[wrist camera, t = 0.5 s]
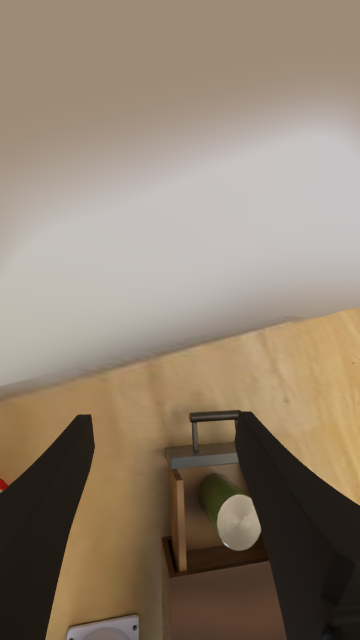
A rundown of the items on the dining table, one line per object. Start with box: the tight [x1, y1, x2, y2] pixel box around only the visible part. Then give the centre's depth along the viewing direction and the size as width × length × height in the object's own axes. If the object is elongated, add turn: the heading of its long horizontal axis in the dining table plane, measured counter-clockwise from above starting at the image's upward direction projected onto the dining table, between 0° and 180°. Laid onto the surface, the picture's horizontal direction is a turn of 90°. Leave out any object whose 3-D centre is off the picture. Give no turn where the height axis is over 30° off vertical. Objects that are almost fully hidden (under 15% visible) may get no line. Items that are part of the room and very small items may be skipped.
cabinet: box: [161, 536, 287, 640], centre depth 29 cm, size 13×14×8 cm
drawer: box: [165, 410, 268, 573], centre depth 33 cm, size 17×13×6 cm
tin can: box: [198, 473, 261, 551], centre depth 31 cm, size 5×5×8 cm
